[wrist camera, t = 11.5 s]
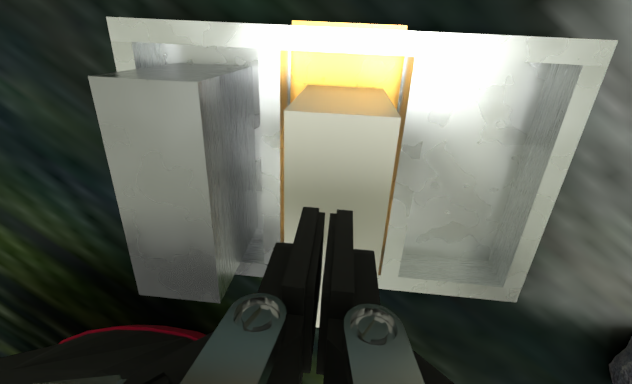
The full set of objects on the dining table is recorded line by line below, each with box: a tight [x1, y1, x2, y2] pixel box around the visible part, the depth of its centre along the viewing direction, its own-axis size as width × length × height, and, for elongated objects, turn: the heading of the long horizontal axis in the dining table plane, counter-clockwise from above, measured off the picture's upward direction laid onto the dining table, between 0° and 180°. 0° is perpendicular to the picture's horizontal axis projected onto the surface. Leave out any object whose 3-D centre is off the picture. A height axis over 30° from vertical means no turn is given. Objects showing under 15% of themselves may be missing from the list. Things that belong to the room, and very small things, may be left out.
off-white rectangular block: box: [284, 85, 401, 328], centre depth 17 cm, size 4×10×7 cm, turn 178°
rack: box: [88, 17, 618, 303], centre depth 17 cm, size 22×14×8 cm, turn 88°
